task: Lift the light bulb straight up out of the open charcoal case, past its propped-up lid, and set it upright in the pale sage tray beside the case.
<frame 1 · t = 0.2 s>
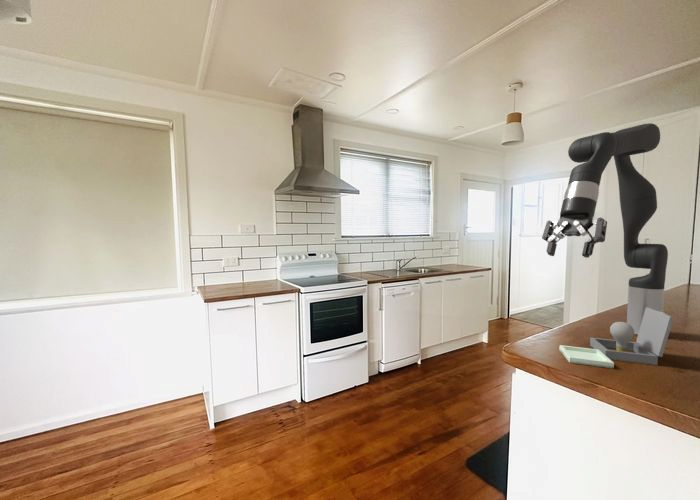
hand: (567, 256, 79), 31 cm above the worktop, tool tilted 20°, fingers open, 8 cm apart
lid: (654, 330, 86), point 8 cm above the worktop, hinge at 100.0°
light bulb: (620, 354, 89), resting in case
case: (620, 354, 89), on the worktop
tray: (584, 358, 86), on the worktop
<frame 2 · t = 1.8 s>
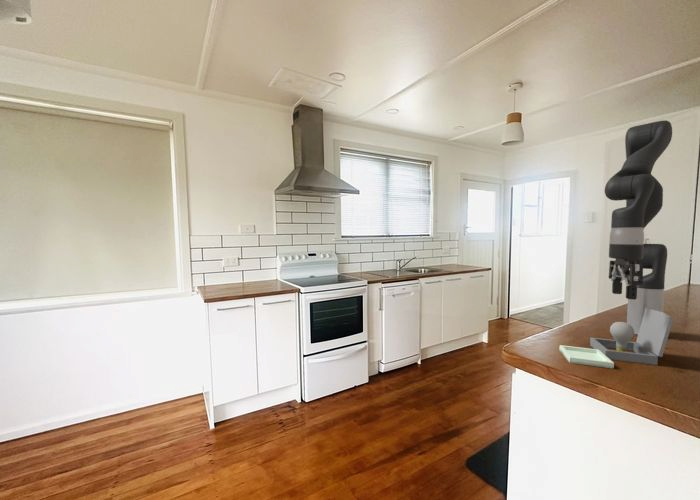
hand: (623, 296, 88), 18 cm above the worktop, tool pointing down, fingers open, 8 cm apart
nothing on the worktop moved.
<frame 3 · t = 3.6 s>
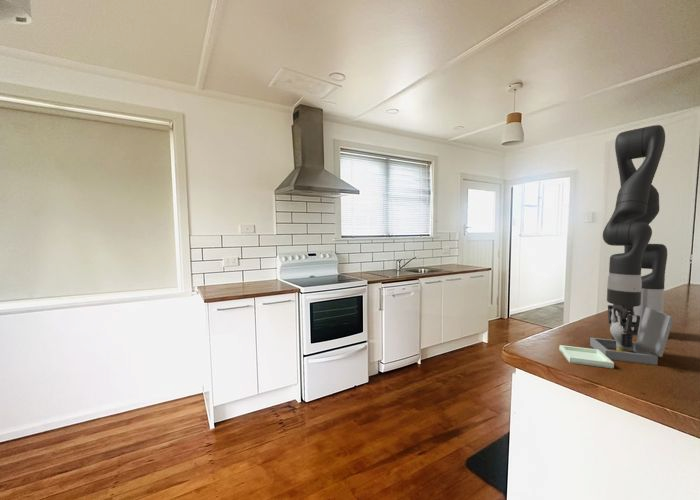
hand: (621, 343, 89), 3 cm above the worktop, tool pointing down, fingers closed on light bulb, 5 cm apart
light bulb: (620, 354, 89), resting in case, touching gripper
everything else where it was.
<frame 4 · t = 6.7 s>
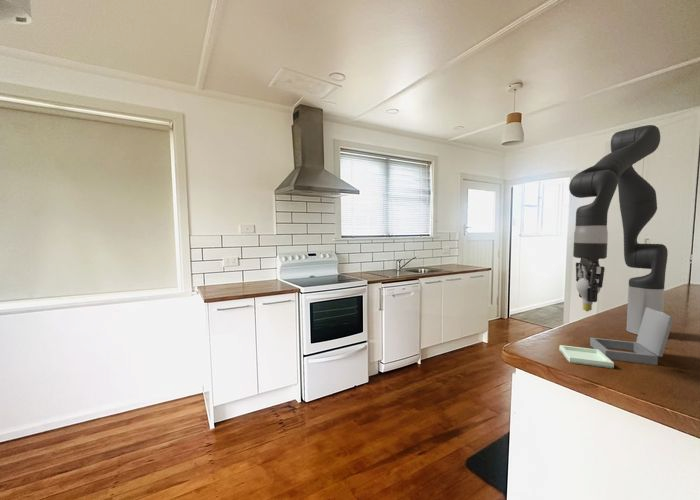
hand: (587, 299, 85), 18 cm above the worktop, tool pointing down, fingers closed on light bulb, 5 cm apart
light bulb: (587, 311, 85), point 14 cm above the worktop, touching gripper
everything else where it was.
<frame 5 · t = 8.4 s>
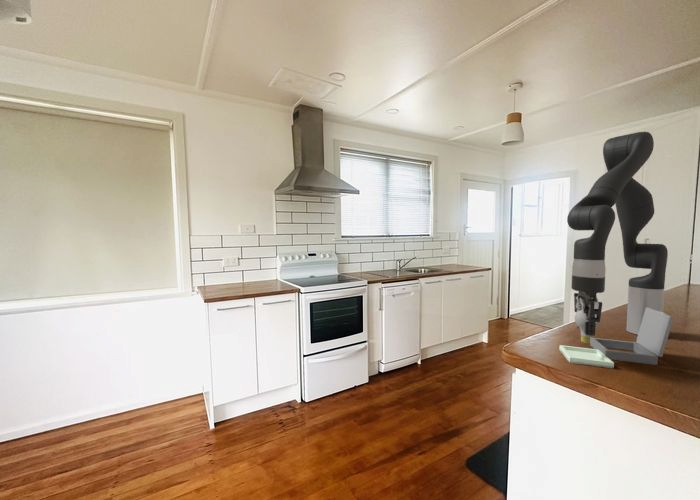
hand: (585, 331, 85), 8 cm above the worktop, tool pointing down, fingers closed on light bulb, 5 cm apart
light bulb: (585, 343, 85), point 4 cm above the worktop, touching gripper
everything else where it was.
when the fingers open (5 cm above the worktop, at t = 9.9 s): light bulb drops 1 cm, resting on tray.
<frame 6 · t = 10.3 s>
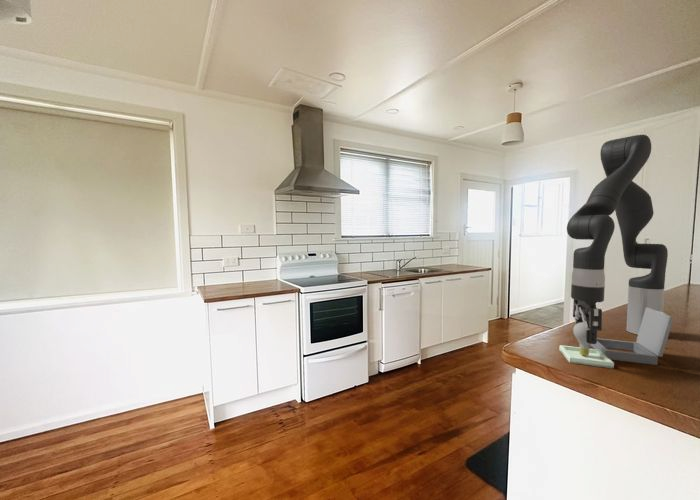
hand: (585, 338, 85), 6 cm above the worktop, tool pointing down, fingers open, 8 cm apart
light bulb: (584, 356, 86), resting on tray
everything else where it was.
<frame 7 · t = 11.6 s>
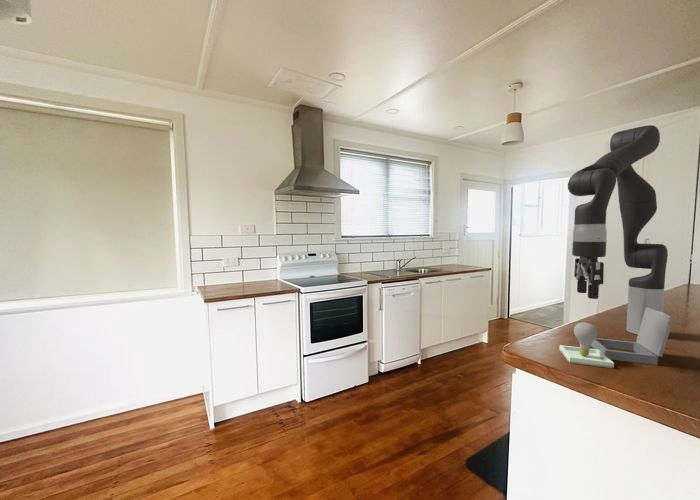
hand: (587, 295, 85), 19 cm above the worktop, tool pointing down, fingers open, 8 cm apart
nothing on the worktop moved.
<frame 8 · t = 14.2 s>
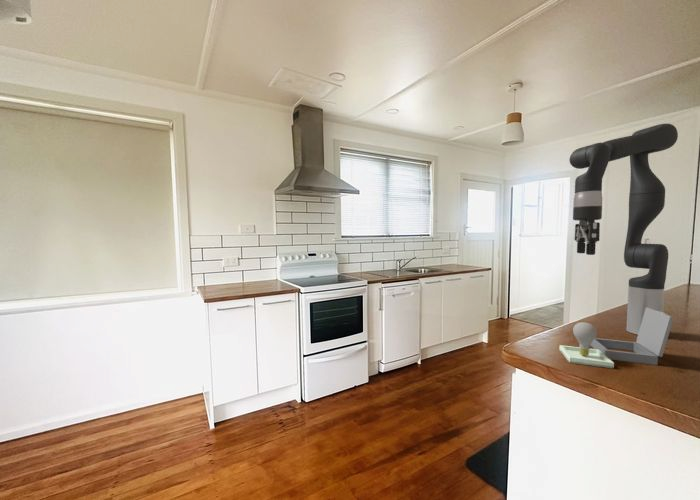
hand: (585, 253, 98), 30 cm above the worktop, tool pointing down, fingers open, 8 cm apart
nothing on the worktop moved.
at the end: light bulb 0.7 cm off-centre on the tray, point 0.4 cm above the tray's base; light bulb tilted 1°; the gripper is holding nothing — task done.
